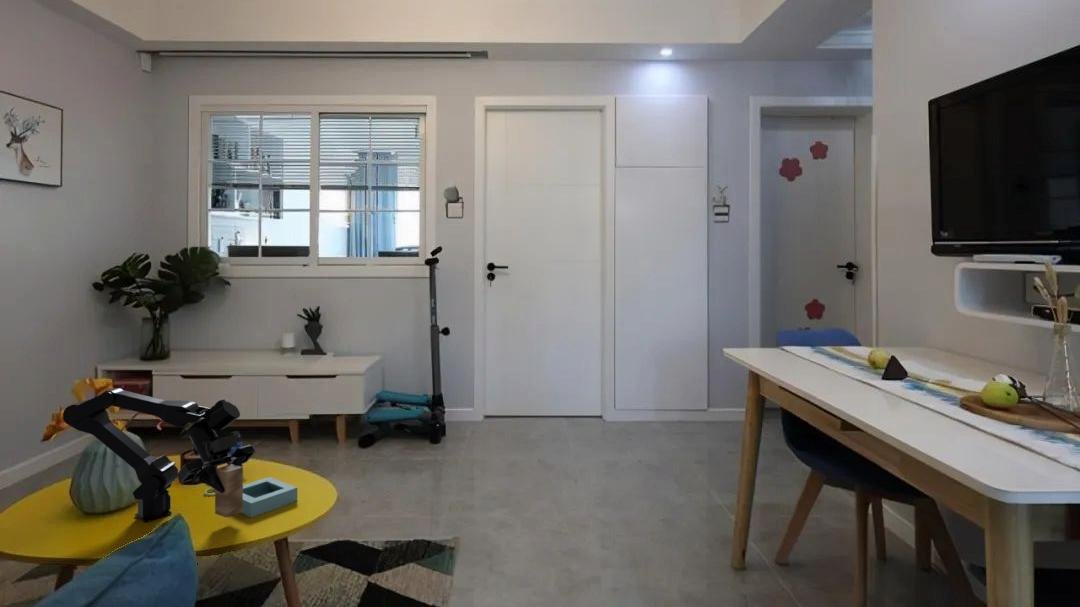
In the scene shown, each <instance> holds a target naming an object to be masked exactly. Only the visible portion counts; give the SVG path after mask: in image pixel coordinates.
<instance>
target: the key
mask: <svg viewBox="0 0 1080 607" xmlns="http://www.w3.org/2000/svg"><path fill="white" fill-rule="evenodd" d="M212 492H214V493H212ZM214 495H215V489H214V488H212V487H209V488H206V489H205V490H204V492H203V496H205V497H215V496H214Z"/></svg>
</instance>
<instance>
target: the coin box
mask: <svg viewBox="0 0 1080 607" xmlns="http://www.w3.org/2000/svg"><path fill="white" fill-rule="evenodd" d="M294 501H295V502H298V487H297V486H296V485H295V486H294V485H291V484H290V483H286V482H285V481H281V480H279V479H276V478H274V477H271V476H269V477H266V478H265V477H264V478H262V479H259V480H256V481H252V482H248V483H246V484H243V511H241V513H240V514H242V513H243V515H245V514H246V515H245V516H247V517H249V516H250V517H249V518H253V516H254V517H257V516H259V514H260V515H262V514H265V513H269V512H270V511H273V510H276V509H278V508H283V507H284V506H287V505H289V503H290V504H293V503H295V502H294ZM264 512H265V513H264ZM256 515H257V516H256Z"/></svg>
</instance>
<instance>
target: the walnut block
mask: <svg viewBox="0 0 1080 607" xmlns="http://www.w3.org/2000/svg"><path fill="white" fill-rule="evenodd" d="M215 471H216V474H217V476H218V478H219V479H220V481H221V483H222V485H223V487H224V489H225V492H224V493H221V492H219V491H217V490H215V491H214V493H215V496H214V514H215V515H218V516H221V517H224V518H228V517H231V516H234V515H236V514H238V513H239V514H240V512H241V511H243V485H244V482H243V480H244V478H243V477H244V474H243V473H244V472H243V471H244V466H243V467H240V466H237V465H233V464H230V465H227V464H226V465H225V466H224V465H223V466H221V467H218V468H215Z"/></svg>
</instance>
